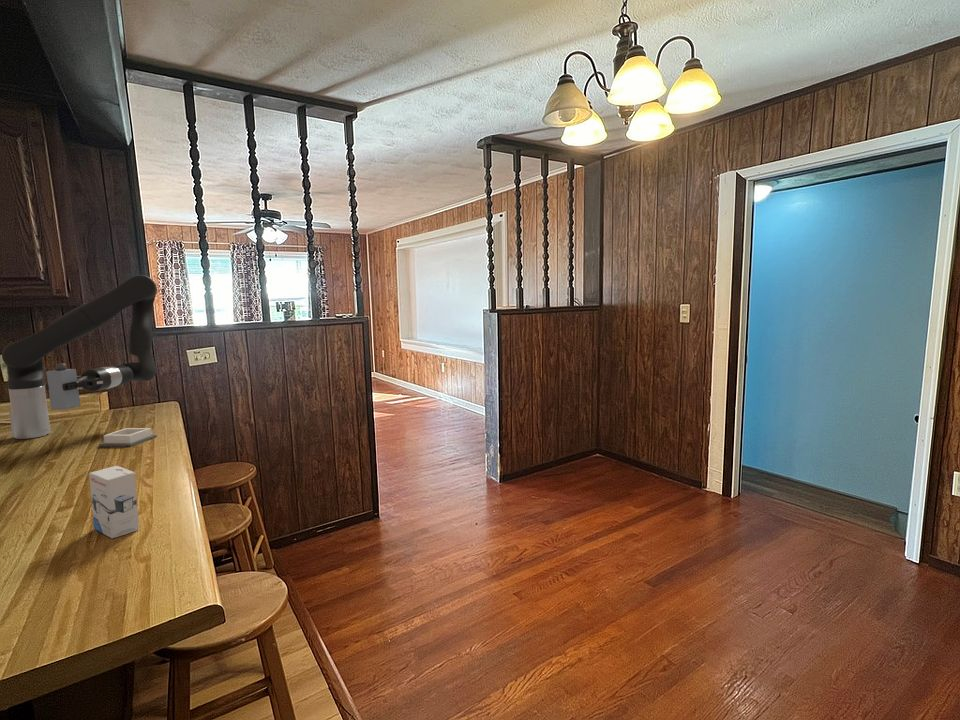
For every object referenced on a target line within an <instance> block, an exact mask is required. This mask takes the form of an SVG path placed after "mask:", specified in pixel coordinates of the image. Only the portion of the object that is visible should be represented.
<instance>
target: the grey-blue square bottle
mask: <svg viewBox="0 0 960 720" xmlns="http://www.w3.org/2000/svg"><path fill="white" fill-rule="evenodd" d="M45 372H46V373H45V374H46V379H47V384H48V387H49V391H48V395H49V402H50V403H49V405H50V409H51V410H55V411H56V410H58V411H59V410H63V411H64V410H71V409H74V408H78V407H81V400H80V392H79V390H80V389H72V390H67V391H63V387H62V384H65V383H70V382H75V381H77V376H78V375H77V374H78V373H77V369H76V368H67V365H66V362H65V363H63V362H61V363H55V369H54V370H48V371H45Z"/></svg>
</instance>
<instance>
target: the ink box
mask: <svg viewBox="0 0 960 720" xmlns="http://www.w3.org/2000/svg"><path fill="white" fill-rule="evenodd" d="M88 474H89V475H88V476H89V485H90V496H91V507H92V518H93V519H92V520H93V529H94V530H96V531H98V532H100V533H101V534H103V535H105V536H107V537H108V538H110V539H115V538H118V537H121V536H125V535H128V534H131V533H134V532H137V531H140V530H139V529H140V524H139V513H138V500H137V486H136V484H137V483H136V473H135V472H134V471H132V470H129V469H127V468H124V467H121V466H119V465H114V466H109V467H106V468H103V469H99V470H96V471H91V472H89V473H88Z"/></svg>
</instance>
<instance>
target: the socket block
mask: <svg viewBox="0 0 960 720" xmlns="http://www.w3.org/2000/svg"><path fill="white" fill-rule="evenodd" d="M157 436H158V434H153V433H152V428H151V427H150V428H149V427H147V428H146V427H145V428H144V427H130V428H129V427H125V428H122V429H120V430H116V431H113V432H110V433H107V434H104V435H103V441H104V442H101V443H98V447H126V446H131V447H134V446H136V444H137V445H139V444H141V442H142V443H144V442H143V441H145V442H147V441H150V440H152V439H151V438H153V439H155V438H157ZM154 437H155V438H154ZM149 439H150V440H149ZM146 440H147V441H146ZM138 443H139V444H138ZM133 445H134V446H133Z"/></svg>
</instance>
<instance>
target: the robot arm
mask: <svg viewBox="0 0 960 720" xmlns="http://www.w3.org/2000/svg"><path fill="white" fill-rule="evenodd" d="M157 292H158V287H157V283H155V281H154V279H153V278H151V277H149V276H148V275H144V274H137V275H133V276H130V277H129V278H128V279H127V280H125V281H124V282H123V283H121V284H120V285H118V286H117V287H115V288H114V289H112V290H110V291H109V292H107V293H105V294H103V295H100V296H98V297H95V298H93V299H91V300H90V301H88V302H85V303H83V304H82V305H81V304H80V305H79V306H77V307H76V308H74V309H72V310H70V311H68V312H67V313H65V314H63V315H62V316H60V317H59V318H57V319H55V320H54V321H52V322H51V323H50V324H49V325H47V326H46V327H44V328H43V329H41V330H39V331H37V332H35V333H33V334H31V335H28V336H26V337H24V338H22V339H19V340H16V341H14V342H11V343H9V344H6V346H4V348H3V350H2V352H1V359H2V361H3V363H4V364H5V365H6V366H7V387H8V395H9V396H8V397H9V402H10V408H11V409H10V410H9V411H8V414H9V421H10V428H11V434H12V439H13V438H15V440H17V439H18V440H29V439H35V438H41V437H45V436H48V435H50V434H51V433H52V432H51V426H50V425H51V424H50V415H49V409H48V408H49V407H48V403H47V402H48V401H47V395H46V391H48V392H49V387H48V383H46V384H45V371H44V370H45V368H44V360H43V358H44V357H45V356H47V355H48V354H50V353H51V352H53V351H54V350H57V349H58V348H60V347H62V346H64V345H66V344H69V343H71V342H74V341H76V340H79V339H80V338H82V337H84V336H87V335H89V334H90V333H92V332H94V331H96V330H98V329H99V328H101V327H103V326H105V324H107V323H108V322H110V321H111V320H112V319H113V318H114V317H116V316H117V315H118V314H119V313H121V312H122V311H123V310H125V309H126V308H128V307H130V306H131V310H132V311H131V312H132V313H131V314H132V315H131V321H130V328H129V335H128V336H129V337H128V338H129V339H128V353H129V354H130V355H131V356H135V357H137V359H138V361H139V362H137V361H135V362H134V361H133V362H131V361H130V362H125V363H122V364H119V365H115V366H114V365H113V366H103V367H97V368H91V369H87V370H84V371H83V373H81V375H77V381H75V382H70V383H65V384H62V387H63V391H67V390H72V389H78V390H86V391H88V392H98V391H103V390H109V389H112V388H114V387H115V388H116V387H118V386H124V385H126V384H129V383H130V382H134V381H135V382H148V381H149V382H150V381H151V380H153V379H155V377H156V374H157V366H156V363H155V360H154V359H155V358H154V356H153V353H152V341H153V337H152V336H153V334H152V333H153V332H152V331H153V329H152V327H153V326H152V320H153V318H152V317H153V316H152V315H153V309H154V302H155V299H156V295H157ZM49 433H50V434H49ZM47 434H48V435H47Z"/></svg>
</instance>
